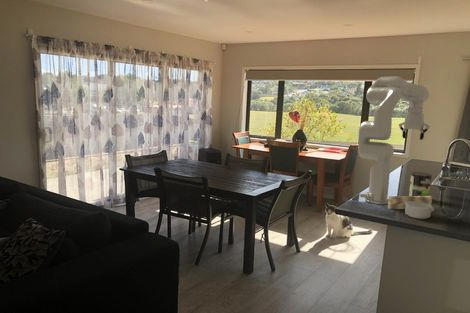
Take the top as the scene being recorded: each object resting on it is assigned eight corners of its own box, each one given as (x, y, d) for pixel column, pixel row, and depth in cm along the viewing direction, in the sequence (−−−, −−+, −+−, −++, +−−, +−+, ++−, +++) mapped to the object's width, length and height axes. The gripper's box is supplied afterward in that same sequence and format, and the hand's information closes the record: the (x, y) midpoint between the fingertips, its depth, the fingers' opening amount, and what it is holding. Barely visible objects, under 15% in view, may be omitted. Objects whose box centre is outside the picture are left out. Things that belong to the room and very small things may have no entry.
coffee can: (433, 200, 201) (436, 175, 199) (417, 201, 198) (420, 176, 196) (419, 196, 211) (421, 171, 209) (404, 196, 208) (406, 172, 206)
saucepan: (453, 224, 161) (454, 212, 160) (403, 217, 170) (404, 205, 169) (451, 217, 171) (452, 206, 170) (404, 211, 180) (405, 200, 179)
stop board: (389, 209, 182) (390, 197, 182) (387, 207, 184) (388, 196, 184) (430, 208, 185) (432, 197, 184) (428, 207, 187) (429, 196, 186)
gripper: (398, 109, 224) (395, 138, 226) (429, 110, 212) (426, 140, 215) (402, 110, 229) (400, 137, 232) (433, 111, 218) (429, 139, 220)
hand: (412, 138), depth 223 cm, fingers open, 9 cm apart
